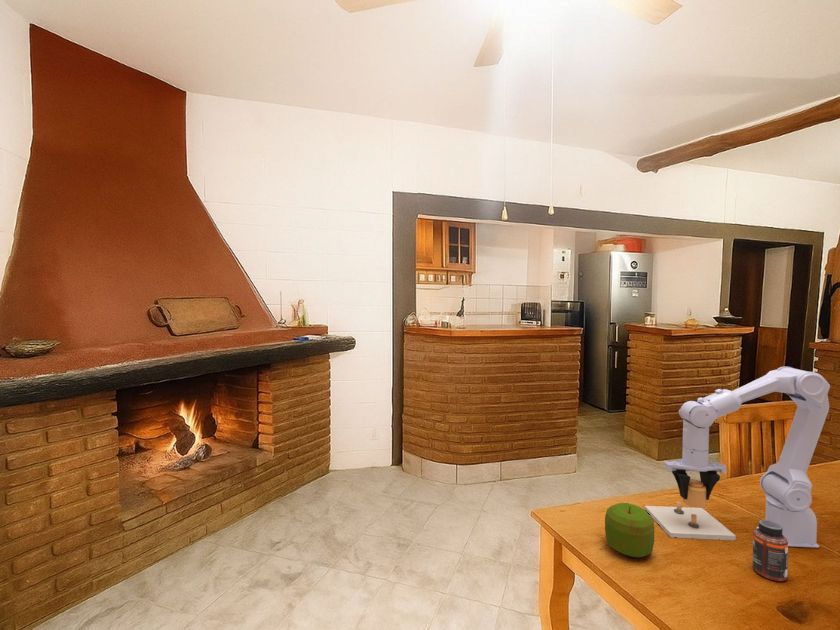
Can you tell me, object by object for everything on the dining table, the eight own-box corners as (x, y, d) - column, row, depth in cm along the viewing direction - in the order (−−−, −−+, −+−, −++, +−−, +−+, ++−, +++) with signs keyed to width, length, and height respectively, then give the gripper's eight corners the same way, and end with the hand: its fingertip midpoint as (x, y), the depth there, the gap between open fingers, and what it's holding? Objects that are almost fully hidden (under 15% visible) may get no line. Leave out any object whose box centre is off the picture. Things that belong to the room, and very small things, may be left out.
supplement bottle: (795, 582, 88) (796, 531, 87) (770, 583, 87) (771, 532, 87) (768, 564, 94) (770, 516, 93) (745, 565, 93) (746, 517, 93)
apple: (607, 532, 107) (607, 491, 107) (654, 544, 101) (654, 502, 101) (602, 554, 97) (602, 510, 97) (653, 569, 92) (654, 522, 91)
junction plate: (701, 512, 117) (702, 498, 117) (735, 540, 103) (736, 524, 103) (644, 509, 118) (644, 496, 118) (670, 537, 104) (670, 522, 104)
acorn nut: (698, 499, 110) (698, 478, 109) (709, 508, 105) (710, 486, 105) (679, 498, 110) (679, 477, 110) (690, 507, 105) (690, 485, 105)
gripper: (714, 442, 110) (713, 491, 111) (659, 441, 111) (658, 489, 112) (732, 452, 103) (730, 504, 104) (673, 450, 104) (672, 502, 105)
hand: (694, 497), depth 107 cm, fingers closed on acorn nut, 5 cm apart
